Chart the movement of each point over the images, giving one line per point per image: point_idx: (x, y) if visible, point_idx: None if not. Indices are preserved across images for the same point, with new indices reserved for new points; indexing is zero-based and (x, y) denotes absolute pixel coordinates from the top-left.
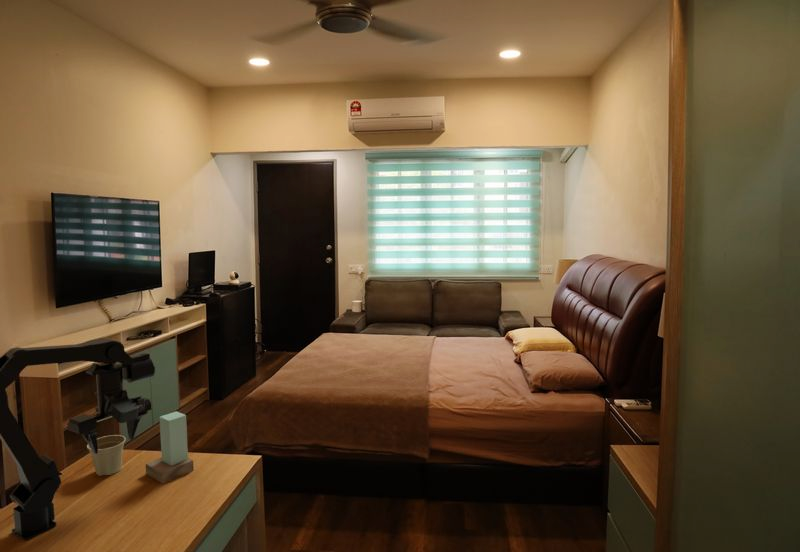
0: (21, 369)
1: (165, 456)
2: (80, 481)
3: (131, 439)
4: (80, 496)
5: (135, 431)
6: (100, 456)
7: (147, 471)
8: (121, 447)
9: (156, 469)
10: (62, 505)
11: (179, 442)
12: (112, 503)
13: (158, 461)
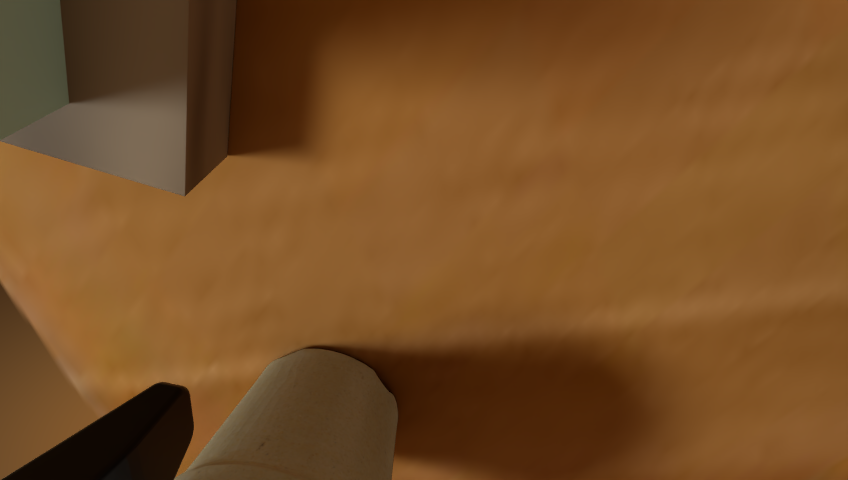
0: None
1: (13, 49)
2: (487, 449)
3: (186, 391)
4: (635, 332)
5: (17, 471)
6: None
7: (215, 144)
8: (210, 468)
9: (183, 9)
10: (765, 350)
11: None
12: (667, 32)
13: (94, 122)
